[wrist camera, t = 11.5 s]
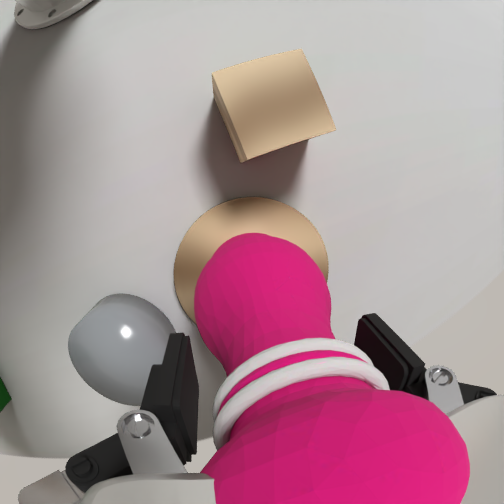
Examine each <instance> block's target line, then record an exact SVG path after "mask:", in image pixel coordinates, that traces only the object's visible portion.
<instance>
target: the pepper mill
mask: <svg viewBox="0 0 504 504" xmlns="http://www.w3.org/2000/svg"><path fill="white" fill-rule="evenodd" d="M194 314H195V320H196V323H197V327H198V330H199V332H200V334H201V336H202V339H203V341H204V343H205V344H206V346H207V347H208V349H209V350H210V351H211V352H212V353H213V354H214V355H215V357H216V358H217V359H218V360H219V361H220V362H221V364H222V365H223V367H224V369H225V371H226V374H227V378H226V379H225V381H224V382H223V384H222V385H221V386H220V388H219V390H218V392H217V394H216V397H215V400H214V404H213V418H214V422H215V423H214V427H213V439H214V444H215V446H216V449H217V452H216V453H215V454H214V456H213V457H212V458H211V459H210V461H209V462H208V463H207V465H206V466H205V467H204V468H203V470H202V471H201V472H200V473H205V474H207V475H209V476H210V477H212V478H213V479H214V492H215V501H216V504H460V503H461V501H462V499H463V497H464V495H465V493H466V490H467V486H468V482H469V477H470V462H469V456H468V451H467V447H466V444H465V442H464V440H463V439H462V437H461V435H460V434H459V432H458V430H457V429H456V427H455V426H454V424H453V423H452V421H451V420H450V419H449V417H448V416H447V415H446V414H445V413H443V412H442V411H441V410H440V409H439V408H438V407H437V406H436V405H435V404H434V403H433V402H430V401H428V400H426V399H424V398H421V397H418V396H415V395H412V394H409V393H406V392H403V391H394V390H390V389H389V385H388V382H387V380H386V378H385V377H384V375H383V374H382V373H381V372H380V371H379V370H378V369H376V368H375V367H374V366H373V363H372V361H371V360H370V358H369V357H368V356H367V355H366V354H365V353H364V352H363V351H361V350H360V349H359V348H358V347H356V346H354V345H352V344H350V343H347V342H344V341H342V340H337V339H335V337H334V335H333V333H332V331H331V327H330V316H331V298H330V293H329V290H328V286H327V283H326V280H325V277H324V275H323V273H322V272H321V270H320V269H319V267H318V266H317V264H316V263H315V262H314V260H313V259H312V258H311V257H310V256H309V255H308V254H307V253H306V252H305V251H304V250H303V249H301V248H300V247H299V246H297V245H296V244H294V243H292V242H289V241H287V240H284V239H281V238H278V237H272V236H270V235H267V234H263V233H244V234H240V235H237V236H235V237H232V238H231V239H229V240H227V241H226V242H224V243H223V244H222V245H221V246H220V247H219V248H218V249H217V250H216V251H215V253H214V254H213V256H212V258H211V259H210V260H209V261H208V262H207V264H206V265H205V267H204V268H203V269H202V271H201V273H200V276H199V278H198V280H197V284H196V287H195V294H194Z"/></svg>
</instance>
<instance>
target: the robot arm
mask: <svg viewBox="0 0 504 504" xmlns="http://www.w3.org/2000/svg"><path fill="white" fill-rule="evenodd" d="M15 1H17V3H16V6H15V12H14V16H15V20H16V22H17V23H18V24H19V25H21V26H22V27H24V28H27V29H39V28H43V27H47V26H49V25H52V24H54V23H57V22H59V21H61V20H63V19H65V18H67V17H69V16H70V15H72V14H73V13H75V12H77V11H78V10H80V9H82V8H83V7H84V6H86V5H87V4H89V3H90V2H91V1H93V0H15ZM354 346H356V347H358V348H359V349H360V350H361V351H363V352H364V353H365V354H366V355H367V356H368V357H369V358H370V360H371V361H372V363H373V366H374V367H375V368H376V369H378V370H379V371H380V372H381V373H382V374H383V375H384V377H385V378H386V380H387V382H388V385H389V389H390V390H394V391H403V392H406V393H409V394H412V395H415V396H418V397H421V398H424V399H426V400H428V401H430V402H433V403H434V404H435V405H436V406H437V407H438V408H439V409H440V410H441V411H442V412H443V413H445V414H446V415H447V416H448V417H449V419H450V420H451V421H452V423H453V424H454V426H455V427H456V429H457V430H458V432H459V434H460V435H461V437H462V439H463V440H464V442H465V444H466V447H467V451H468V456H469V462H470V477H469V482H468V486H467V490H466V493H465V495H464V497H463V499H462V501H461V503H460V504H504V395H497V394H496V393H495V392H494V391H493V390H491V389H488V388H484V387H479V386H474V385H469V384H464V383H459V382H458V381H457V378H456V375H455V373H454V372H453V371H452V370H451V369H449V368H447V367H444V366H439V365H438V366H432V367H430V368H428V369H426V368H425V367H424V366H425V363H424V362H423V361H422V360H421V359H420V358H419V357H418V356H417V355H416V354H415V353H414V352H413V351H412V349H411V348H410V347H409V346H408V345H407V344H406V343H405V342H404V341H403V340H402V339H401V338H400V337H399V336H398V335H397V334H396V333H395V332H394V331H393V330H392V329H391V328H390V327H389V326H388V325H387V324H386V323H385V322H384V321H383V320H382V319H381V318H380V317H379V316H378V315H377V314H375V313H373V314H367V315H363V316H362V318H361V319H359V321H358V326H357V331H356V337H355V342H354ZM198 399H199V386H198V380H197V375H196V370H195V365H194V360H193V354H192V349H191V343H190V338H189V336H185V335H184V333H170V335H169V338H168V342H167V346H166V350H165V354H164V358H163V362H162V364H153V365H152V367H151V370H150V374H149V377H148V381H147V384H146V388H145V392H144V396H143V399H142V403H141V407H140V410H133V411H130V412H128V413H126V414H124V415H123V416H122V417H121V418H120V419H119V421H118V423H117V431H118V433H116V434H115V435H113V436H111V437H109V438H107V439H105V440H103V441H101V442H100V443H98V444H96V445H94V446H92V447H90V448H88V449H86V450H84V451H82V452H80V453H78V454H76V455H74V456H72V457H71V458H70V459H69V460H68V462H67V464H66V470H64V471H62V472H60V471H59V470H57V471H56V472H54V473H52V474H50V475H48V476H46V477H44V478H42V479H40V480H38V481H36V482H35V483H33V484H31V485H28V486H27V487H24V488H23V489H22V490H21V491H20V493H19V495H18V501H19V504H216V501H215V492H214V479H213V478H212V477H210V476H209V475H207V474H205V473H188V472H187V471H186V469H185V468H184V465H185V464H186V462H191V455H192V454H196V453H197V421H198Z"/></svg>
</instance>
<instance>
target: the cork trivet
mask: <svg viewBox="0 0 504 504" xmlns="http://www.w3.org/2000/svg"><path fill="white" fill-rule="evenodd" d="M244 233H263V234H267V235H270V236H272V237H278V238H281V239H284V240H287V241H289V242H292V243H294V244H296V245H297V246H299V247H300V248H301V249H303V250H304V251H305V252H306V253H307V254H308V255H309V256H310V257H311V258H312V259H313V260H314V262H315V263H316V264H317V266H318V267H319V269H320V270H321V272H322V273H323V275H324V277H325V280H326V283H327V279H328V257H327V252H326V248H325V245H324V243H323V240H322V238H321V236H320V234H319V233H318V231H317V230H316V228H315V227H314V226H313V224H312V223H311V222H310V221H309V220H308V219H307V218H306V217H305V216H304V215H303V214H301V213H300V212H298V211H297V210H295V209H294V208H292V207H290V206H288V205H286V204H284V203H282V202H279V201H276V200H273V199H268V198H262V197H244V198H237V199H233V200H229V201H226V202H224V203H221V204H219V205H217V206H215V207H213V208H212V209H210V210H208V211H207V212H206V213H204V214H203V215H202V216H200V217H199V218H198V219H197V220H196V221H195V222H194V223H193V225H192V226H191V227H190V229H189V230H188V231H187V233H186V235H185V236H184V238H183V240H182V242H181V244H180V246H179V249H178V251H177V254H176V259H175V263H174V284H175V289H176V293H177V296H178V299H179V301H180V303H181V305H182V307H183V309H184V310H185V312H186V313H187V315H188V316H189V317H190V318H191V319H192V320H193V322H194V323H195V324H196V325H197V323H196V320H195V314H194V294H195V287H196V284H197V280H198V278H199V276H200V273H201V271H202V269H203V268H204V267H205V265H206V264H207V262H208V261H209V260H210V259H211V258H212V256H213V254H214V253H215V251H216V250H217V249H218V248H219V247H220V246H221V245H222V244H223V243H224V242H226V241H227V240H229V239H231V238H232V237H235V236H237V235H240V234H244Z"/></svg>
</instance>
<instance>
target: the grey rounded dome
mask: <svg viewBox="0 0 504 504" xmlns="http://www.w3.org/2000/svg"><path fill="white" fill-rule="evenodd" d="M170 333H176V332H175V329H174V327H173V325H172V324H171V322H170V321H169V319H168V318H167V317H166V316H165V315H164V313H163V312H161V311H160V310H159V309H158V308H157V307H156V306H154V305H153V304H151V303H150V302H148V301H146V300H144V299H142V298H140V297H137V296H134V295H129V294H113V295H110V296H107V297H105V298H103V299H101V300H100V301H99V302H98V303H97V304H96V305H95V306H94V307H93V308H92V309H91V310H90V311H89V312H88V313H87V314H86V315H85V316H84V317H83V319H82V320H81V321H80V322H79V323H78V324H77V325H76V326H75V327H74V328H73V330H72V331H71V333H70V336H69V341H68V349H69V355H70V358H71V361H72V363H73V365H74V367H75V369H76V370H77V372H78V373H79V375H80V376H81V377H82V378H83V380H84V381H85V382H86V383H87V384H88V385H89V386H90V387H92V388H93V389H94V390H95V391H97V392H98V393H99V394H101V395H103V396H104V397H106V398H108V399H110V400H113V401H115V402H118V403H121V404H126V405H132V406H141V403H142V399H143V396H144V392H145V388H146V384H147V381H148V377H149V374H150V370H151V367H152V365H153V364H162V362H163V358H164V354H165V350H166V346H167V342H168V338H169V335H170Z"/></svg>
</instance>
